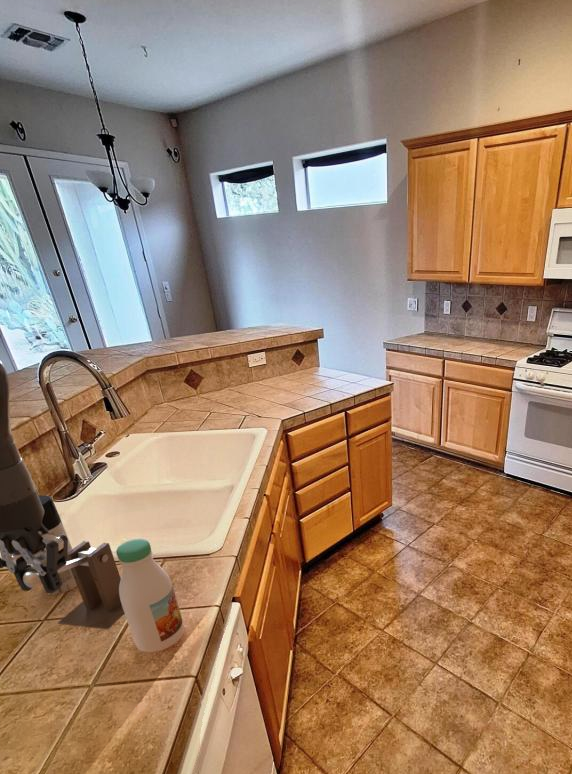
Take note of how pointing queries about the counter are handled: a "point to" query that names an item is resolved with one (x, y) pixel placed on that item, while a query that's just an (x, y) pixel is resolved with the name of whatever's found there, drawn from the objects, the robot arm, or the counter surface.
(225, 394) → the counter surface
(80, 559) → the tap lever
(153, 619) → the milk bottle
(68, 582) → the spray can
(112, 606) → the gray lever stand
